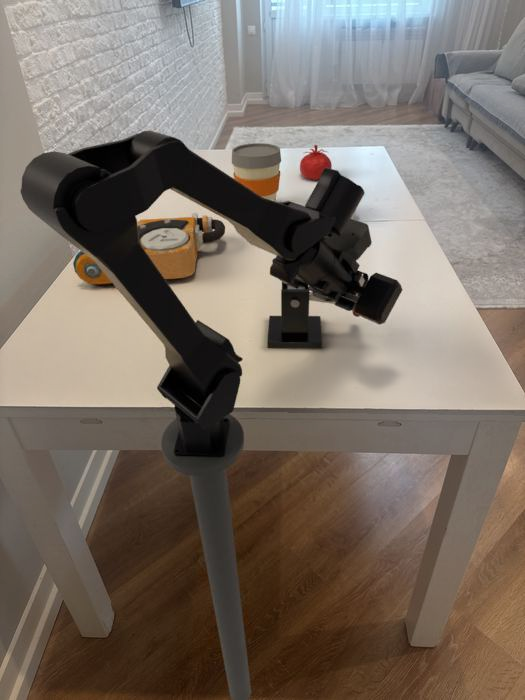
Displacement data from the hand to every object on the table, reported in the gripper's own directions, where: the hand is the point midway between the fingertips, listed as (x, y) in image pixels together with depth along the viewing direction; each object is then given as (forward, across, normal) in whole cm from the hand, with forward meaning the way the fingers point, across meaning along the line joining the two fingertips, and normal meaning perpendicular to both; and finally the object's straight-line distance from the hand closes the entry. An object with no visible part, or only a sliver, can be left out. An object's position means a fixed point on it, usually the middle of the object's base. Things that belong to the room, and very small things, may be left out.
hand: (356, 300), depth 78 cm
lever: (-1, +5, +3) cm, 6 cm away
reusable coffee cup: (+28, +53, -17) cm, 63 cm away
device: (+2, +48, +9) cm, 49 cm away
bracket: (+1, +8, +9) cm, 12 cm away
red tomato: (+49, +58, -38) cm, 84 cm away
